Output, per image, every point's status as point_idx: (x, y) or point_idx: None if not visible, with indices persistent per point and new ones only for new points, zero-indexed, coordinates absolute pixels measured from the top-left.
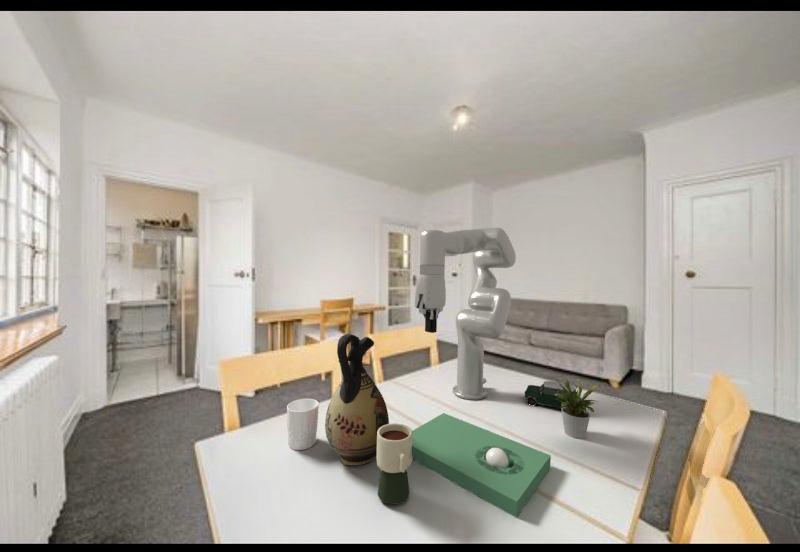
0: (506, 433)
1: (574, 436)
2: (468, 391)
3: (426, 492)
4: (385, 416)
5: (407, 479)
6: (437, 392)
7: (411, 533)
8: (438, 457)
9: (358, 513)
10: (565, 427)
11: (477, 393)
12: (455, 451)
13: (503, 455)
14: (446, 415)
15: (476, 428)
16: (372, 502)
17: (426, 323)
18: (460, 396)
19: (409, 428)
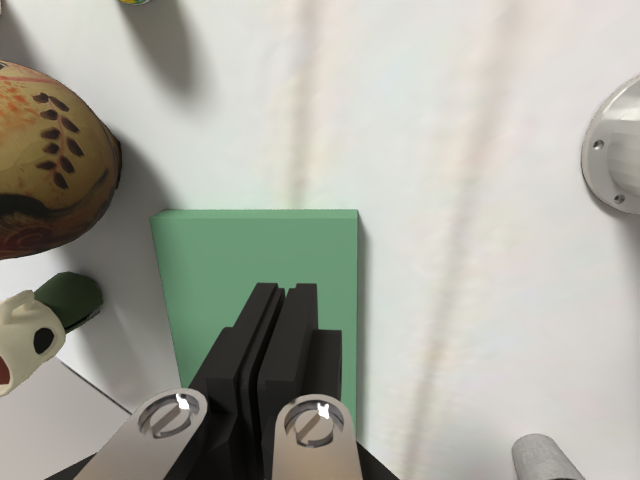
0: (426, 348)
1: (512, 454)
2: (617, 170)
3: (132, 324)
4: (41, 249)
5: (74, 328)
6: (581, 29)
7: (66, 351)
8: (176, 323)
9: (15, 279)
10: (525, 450)
11: (633, 195)
12: None
13: None
14: (349, 233)
15: (344, 326)
16: (44, 278)
17: (203, 373)
18: (585, 143)
19: (11, 380)
